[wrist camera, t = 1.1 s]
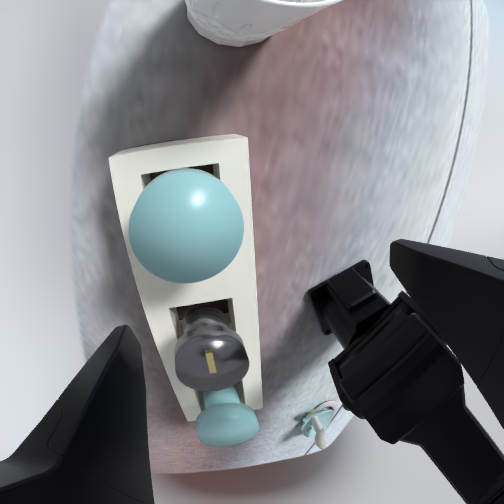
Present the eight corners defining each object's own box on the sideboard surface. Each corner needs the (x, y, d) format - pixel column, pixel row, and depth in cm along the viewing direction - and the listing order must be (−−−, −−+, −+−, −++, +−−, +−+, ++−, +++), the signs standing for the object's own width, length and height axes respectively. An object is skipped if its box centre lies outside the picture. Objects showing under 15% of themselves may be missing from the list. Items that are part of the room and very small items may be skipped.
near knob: (231, 237, 18) (247, 273, 14) (149, 250, 17) (142, 290, 13) (224, 154, 16) (240, 167, 12) (134, 167, 15) (118, 185, 11)
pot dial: (237, 339, 22) (252, 387, 18) (180, 349, 21) (184, 399, 17) (232, 292, 20) (248, 339, 16) (166, 302, 19) (167, 353, 15)
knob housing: (253, 380, 30) (263, 408, 27) (184, 392, 29) (187, 421, 25) (234, 133, 19) (247, 137, 15) (121, 150, 17) (108, 157, 14)
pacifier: (338, 392, 37) (299, 406, 35) (358, 424, 31) (317, 442, 30) (332, 416, 40) (297, 429, 39) (349, 445, 35) (312, 460, 33)
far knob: (248, 402, 27) (260, 439, 23) (198, 411, 26) (204, 450, 22) (245, 371, 24) (258, 413, 20) (186, 381, 23) (192, 424, 19)
